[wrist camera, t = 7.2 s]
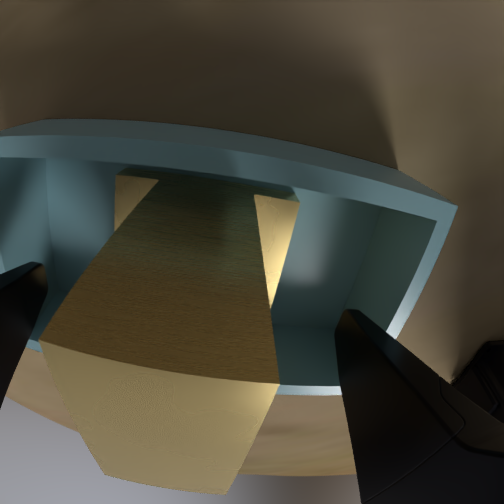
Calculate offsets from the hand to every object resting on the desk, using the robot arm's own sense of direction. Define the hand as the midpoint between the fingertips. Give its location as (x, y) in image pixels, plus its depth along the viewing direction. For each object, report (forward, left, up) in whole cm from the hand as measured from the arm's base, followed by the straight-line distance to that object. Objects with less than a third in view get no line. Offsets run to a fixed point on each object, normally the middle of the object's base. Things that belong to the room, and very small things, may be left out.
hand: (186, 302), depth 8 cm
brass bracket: (0, 0, -4) cm, 4 cm away
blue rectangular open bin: (0, 0, -4) cm, 4 cm away
